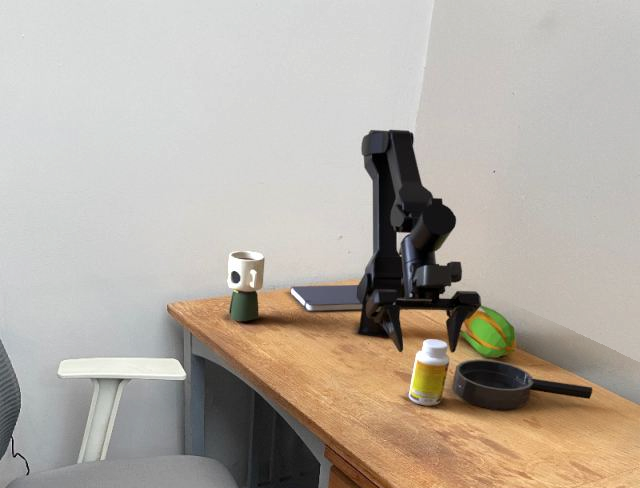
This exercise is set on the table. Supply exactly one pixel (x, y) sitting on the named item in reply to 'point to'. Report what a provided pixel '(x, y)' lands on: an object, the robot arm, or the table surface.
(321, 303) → the notebook
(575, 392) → the skillet handle
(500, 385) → the skillet
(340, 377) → the table surface
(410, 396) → the supplement bottle
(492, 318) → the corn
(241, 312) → the character mug
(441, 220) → the robot arm
